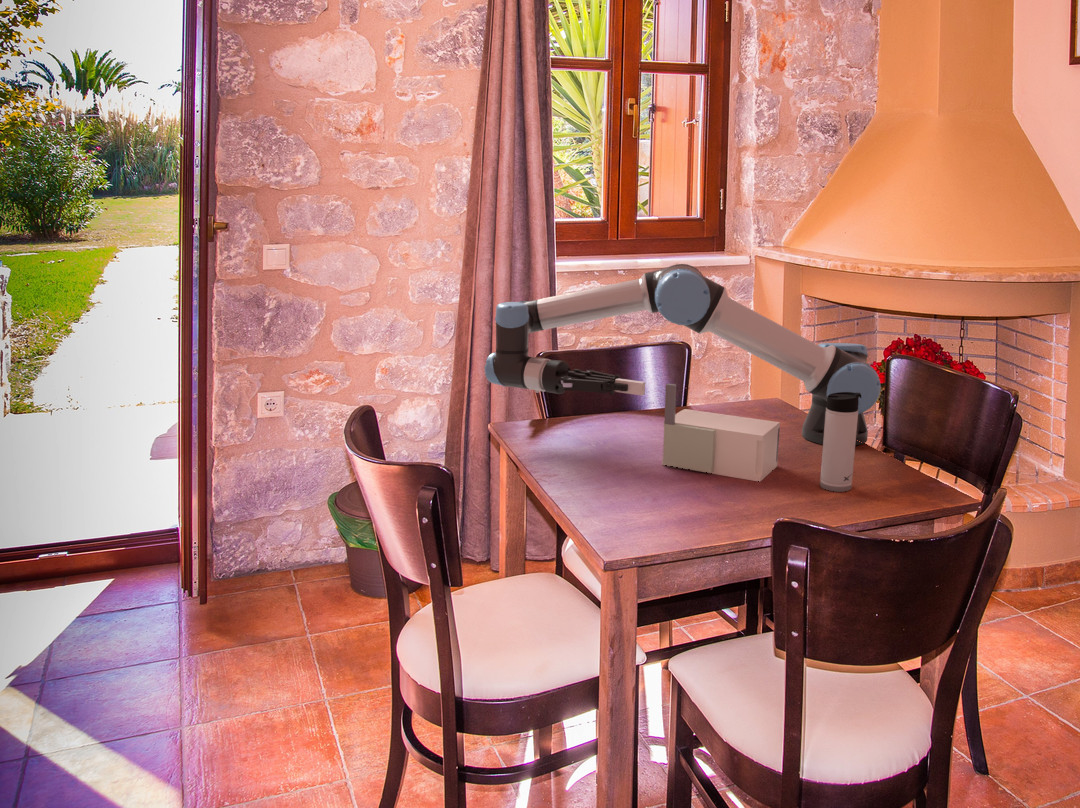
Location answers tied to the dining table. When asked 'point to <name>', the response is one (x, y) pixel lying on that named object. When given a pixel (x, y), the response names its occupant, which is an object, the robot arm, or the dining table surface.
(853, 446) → the travel mug
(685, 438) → the side door
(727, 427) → the cream case
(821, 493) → the dining table surface
